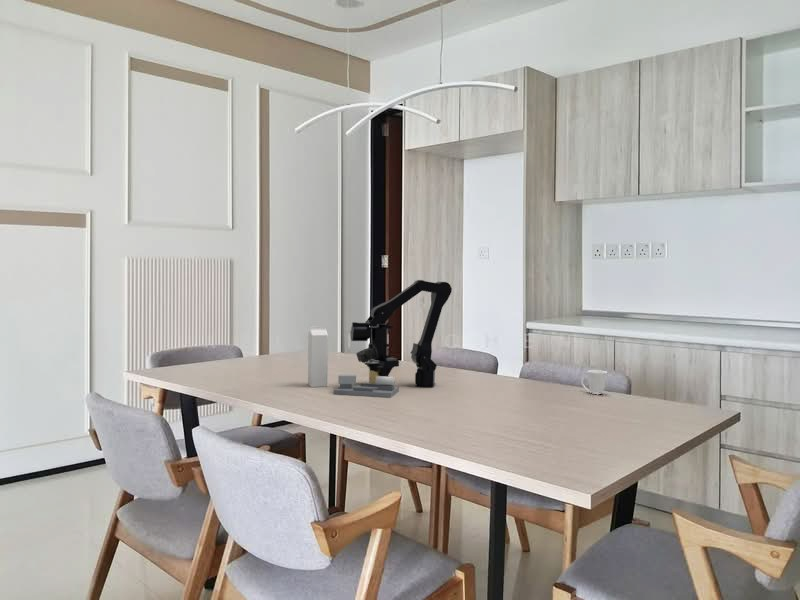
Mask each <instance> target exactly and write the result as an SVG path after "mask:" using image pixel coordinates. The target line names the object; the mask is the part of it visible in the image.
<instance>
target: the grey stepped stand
mask: <svg viewBox="0 0 800 600" xmlns="http://www.w3.org/2000/svg"><path fill="white" fill-rule="evenodd" d="M337 375H338V376H337V377H338V379H337V381H338V382H337V383H338V385H339V386H338V387H336V388H335V389H333V395H340V396H342V395H343V396H356V397H373V398H388V399H389V398H390V399H391V398H393V396H395V395H396V394H398V393H399V391H400V387H398V386H396V385H395V381H396V380H395V378H396V377H394V376H388V377H386V376H376V383H369V382H360V384H357V374H337Z"/></svg>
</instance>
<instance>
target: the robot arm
mask: <svg viewBox="0 0 800 600" xmlns="http://www.w3.org/2000/svg"><path fill="white" fill-rule="evenodd" d="M452 289H453V288H452V285H451V284H450V283H449V282H447V281H437V282H436V281H435V282H431V281H426V280H422V279H417V280H415V281H414V282H413V283H412V284H410V285H409V286H408V287H406V288H405V289H403V290H402V291H401V292H400V293H398V294H396V295H395V296H394V297H392V298H390V300H387V301H385V302H382V303H380V304H378V305H377V306H374V307H372V309H371V310H370V315H369V316H368V318H367V319H366V321H365V322H355V321H353V322H351V328H350V331H349V333H350V340H351V342H368V340H369V339H371V340H370V341H371V343H368V347H366V348H365V349H362V350H360V351H358V352H356V357H357V360H358V362H360V363H363V364H364V365H365V366H366V367H368V369H369V370H375V369H379V371H380V376H386V377H389V375H390V373H391V372H392V370H393V369H394V368H396V367H400V360H398V358H395V357H390V355H389V354H388V348H389V347H390V343H388V330H390V329H393V328H394V327H393V326H392V325H391V324H390V322H389V321H388V320H389V319H390V318H391V317H392V316H393V315H394V313H395V312H396V311H397V309H399V308H400V307H402V306H403V305H404V304H406V303H407V302H409V301H410V300H411V299H413V298H415V296H417V295H418V294H420V293H421V292H425V293H430V307H429V309H428V313H427V317H426V320H425V322H424V325H423V329H422V332H421V337H420V338H419V341H418V342H417V343H415V342H414V343H412V349H411V351H410V354H411V360H412V362H413V363H414V364H415V366H416V372H415V375H414V376H415V377H414V378H415V380H414V381H415V382H414V383H415V387H421V388H422V387H423V388H424V387H425V388H428V387H429V388H433V387H435V386H436V383H435V382H436V379H435V377H436V370H437V366H438V365H437V364H436V362H435V361H433V359H432V355H433V354H432V352H433V351H432V349H433V347H432V346H433V345H432V342H433V340H434V336H435V333H436V330H437V326H438V322H439V321H440V317H441V314H442V311H443V307H444V306H445V304H446V303H447V301H448V300H449V298H450V297H451V294H452V291H453V290H452Z"/></svg>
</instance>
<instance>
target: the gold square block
mask: <svg viewBox="0 0 800 600" xmlns="http://www.w3.org/2000/svg"><path fill="white" fill-rule="evenodd" d="M376 376H380V371H379V369H375V370H370V369H369V373H368V381H369V382H368V383H376Z"/></svg>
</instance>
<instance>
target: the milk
mask: <svg viewBox="0 0 800 600" xmlns="http://www.w3.org/2000/svg"><path fill="white" fill-rule="evenodd" d="M307 344H308V347H307V348H308V349H307V350H308V351H307V352H308V353H307V355H308V356H307V385H308V386H309V387H311V388H322V387H323V388H324V387H325V388H327V387H328V372H329V370H328V369H329V367H328V365H329V364H328V363H329V360H328V359H329V356H328V355H329V334H328V331H327V325H310V327H309V331H308V343H307Z"/></svg>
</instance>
